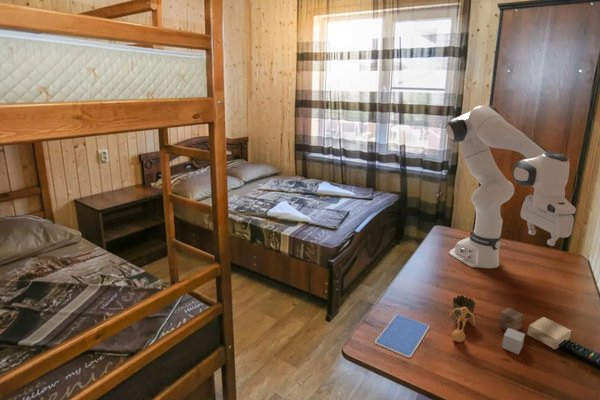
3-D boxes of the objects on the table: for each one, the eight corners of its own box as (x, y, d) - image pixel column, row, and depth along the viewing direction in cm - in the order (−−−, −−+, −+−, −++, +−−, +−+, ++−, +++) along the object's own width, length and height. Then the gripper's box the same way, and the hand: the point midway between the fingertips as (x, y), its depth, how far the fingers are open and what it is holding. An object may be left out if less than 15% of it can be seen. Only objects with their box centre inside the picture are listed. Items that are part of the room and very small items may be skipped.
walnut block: (498, 326, 135) (500, 312, 133) (506, 321, 138) (508, 307, 136) (512, 334, 131) (515, 319, 129) (520, 329, 134) (523, 314, 132)
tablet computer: (410, 360, 120) (410, 357, 120) (373, 344, 127) (373, 341, 127) (430, 328, 135) (430, 325, 135) (396, 316, 142) (396, 313, 142)
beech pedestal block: (527, 335, 131) (529, 325, 130) (541, 326, 136) (543, 316, 134) (554, 350, 124) (557, 339, 123) (568, 340, 128) (571, 330, 127)
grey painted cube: (501, 347, 125) (504, 334, 123) (505, 340, 128) (508, 327, 127) (518, 354, 122) (521, 341, 120) (522, 346, 125) (525, 333, 124)
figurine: (443, 338, 129) (447, 308, 125) (449, 329, 133) (453, 300, 130) (469, 349, 124) (474, 317, 120) (474, 339, 129) (479, 308, 125)
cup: (462, 328, 134) (465, 309, 132) (446, 317, 140) (448, 298, 138) (477, 322, 137) (480, 303, 135) (460, 311, 144) (463, 293, 141)
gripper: (518, 193, 138) (513, 229, 142) (561, 211, 119) (553, 252, 123) (535, 192, 139) (529, 228, 143) (580, 210, 119) (572, 251, 123)
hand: (540, 239), depth 133 cm, fingers open, 8 cm apart
